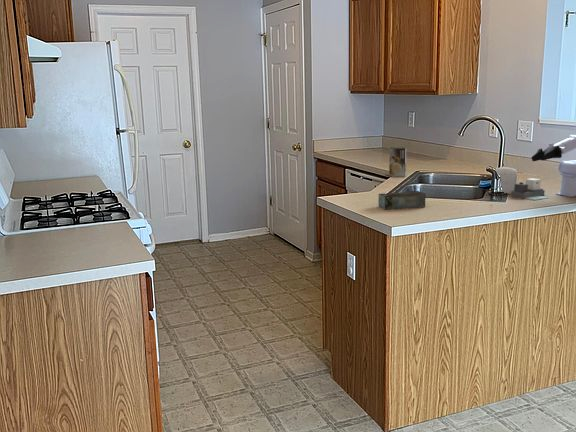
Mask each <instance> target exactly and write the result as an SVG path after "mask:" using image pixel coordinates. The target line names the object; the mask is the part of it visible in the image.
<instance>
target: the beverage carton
mask: <svg viewBox="0 0 576 432" xmlns="http://www.w3.org/2000/svg"><path fill="white" fill-rule="evenodd" d="M377 203H378V208H380V209H382V210H384V211H391V209H394V210H405V209H406V208H408V209H419V207H421V208H425V207H426V193H425V192H422V191H419V190H411V191H410V190H409V191H404V192H391V193H390V192H388V193H378V202H377ZM406 210H407V209H406Z"/></svg>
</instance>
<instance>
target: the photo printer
mask: <svg viewBox="0 0 576 432" xmlns="http://www.w3.org/2000/svg"><path fill="white" fill-rule="evenodd" d="M495 171H497V172H498V173H499V174H500V177H501V186H502V190H503V192H504V193H503V194H506V193H507V195H508V194H509V195H511V191H514V187H515V184H517V182H518V181H517V179H518V170H517V169H515V168H512V167H507V166H506V167H505V166H502V167H497V168H495V170H494V172H495Z"/></svg>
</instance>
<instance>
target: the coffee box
mask: <svg viewBox="0 0 576 432" xmlns="http://www.w3.org/2000/svg"><path fill="white" fill-rule="evenodd" d="M388 163H389V166H388V167H389V170H388V171H389V176H388V177H392V178H393V177H394V178H395V177H396V178H398V177H399V178H400V177H401V178H405V177H406V176H407V174H406V173H407V147H402V146H401V147H400V146H399V147H393V146H392V147H389V162H388Z"/></svg>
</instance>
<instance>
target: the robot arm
mask: <svg viewBox="0 0 576 432" xmlns="http://www.w3.org/2000/svg"><path fill="white" fill-rule="evenodd" d="M548 145H549V146H548V147H546V148H545V149H543V148H538V149H537V152H536V153H535V154H534V155H532V156H531V161H532V162H538V161H546V160H550V159H561V158H562V157H563V156H562V155H565V154H567V153H569V152H572V151H573V150H576V134H569V135H568V136H567V137H566V139H564V140H561V141H559V142H556V143H555V144H554V143H553V142H550V143H548ZM557 169H558V172H559V173H560V176H561V178H560V179H561V180H560V190H559V192H556V193H555V195H560V196H565V197H576V159H574V160H573V159H572V160H571V159H570V160H564V159H563V160H562V161H560V163H559V164H558V168H557Z"/></svg>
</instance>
